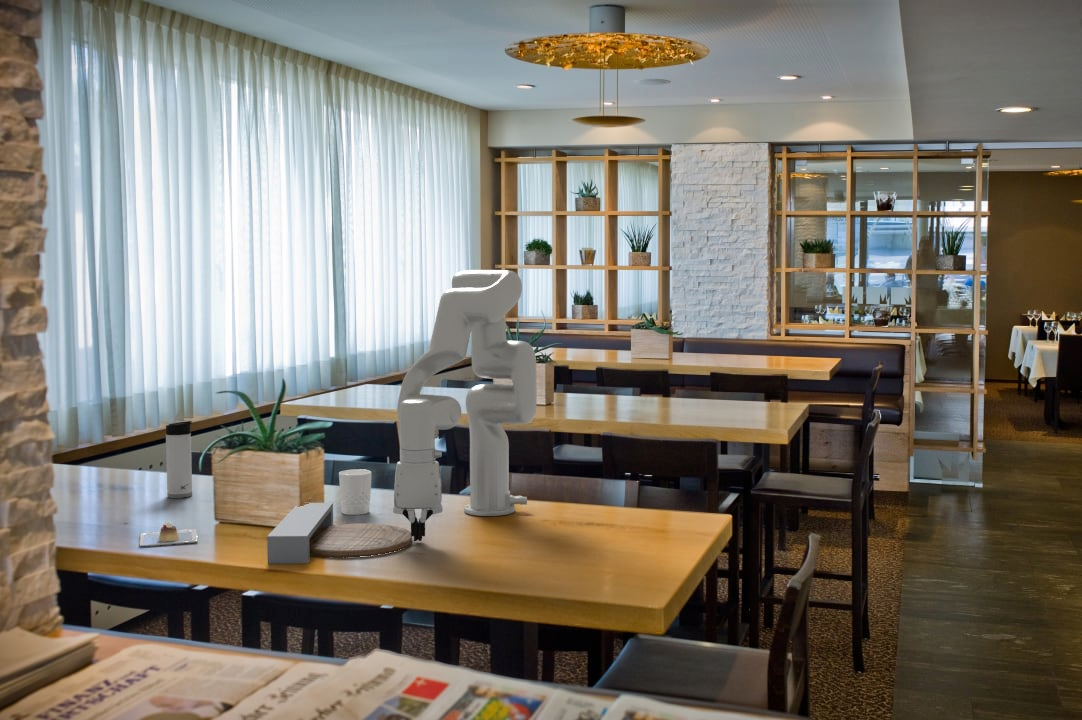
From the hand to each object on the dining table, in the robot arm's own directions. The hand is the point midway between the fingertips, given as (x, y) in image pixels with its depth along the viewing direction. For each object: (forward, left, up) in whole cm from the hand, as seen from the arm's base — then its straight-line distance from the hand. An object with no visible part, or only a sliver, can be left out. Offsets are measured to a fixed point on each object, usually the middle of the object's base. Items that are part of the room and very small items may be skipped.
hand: (418, 539), depth 240 cm
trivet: (+14, 0, -1) cm, 14 cm away
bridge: (+25, 0, -1) cm, 25 cm away
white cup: (+18, -32, -1) cm, 37 cm away
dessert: (+55, -5, -2) cm, 56 cm away
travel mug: (+67, -53, -1) cm, 85 cm away
